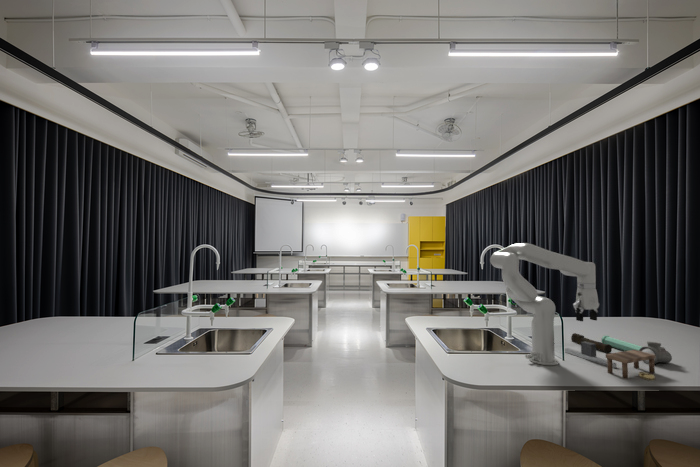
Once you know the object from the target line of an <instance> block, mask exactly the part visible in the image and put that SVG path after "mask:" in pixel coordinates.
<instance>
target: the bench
mask: <svg viewBox="0 0 700 467" xmlns="http://www.w3.org/2000/svg"><path fill="white" fill-rule="evenodd" d="M605 359H606V360H607V366H606V367H607V373H608V374H610V375H611V374H613V373H614V372H613V370H614V368H613V366H612V362H613V361H616V362H619V363H621V371H622V372H621V375H622V378H623V379H626V380H627V379H628V378H629V375H628V374H629V372H628V370H629V368H628V365H629V364H631V363H633V368H634V369H637V368H639V369H640V362H643V361H644V360H649V364H648V370H649V371H648V373H651V374H655V364H654V359H655V355H654V354H650V353H646V352H642V351H638V350H629V351H623V350H622V351H618V352H612V353H605Z"/></svg>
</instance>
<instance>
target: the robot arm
mask: <svg viewBox="0 0 700 467" xmlns="http://www.w3.org/2000/svg"><path fill="white" fill-rule="evenodd" d="M520 260H523V261H527V262H530V263H533V264H535V265H538V266H540V267H542V268H546V269H551V270H559V271H560V273H561V274H563V275H564V276H569V277H576V278H577V279H576V280H577V283H576V284H577V289H576V294H575V296H576V297H575V302H574V303H572V306H573V310H574V311H575V317H576V318H575V320H576V321H579V322H584V313H583V312H584V311H586V310H587V311H588V310H589V319H590V320H591V321H598V313H599V311H598V310H599V308H600V302H599V297H598V292H597V289H596V285H597V283H596V282H597V281H596V280H597V279H596V278H597V276H596V263H594V261H593V262H591V261H584V260H582V259H578V258H576V257H573V256H569V255H565V254H562V253H557V252H554V251H551V250H549V249H546V248H543V247H541V246H538V245H535V244H532V243H528V242H521V243H520V242H519V243H517V242H515V243H514V244H511V245H508V246H507V247H504V248H502V249H500V250H496V251H495V252H493V253H492V255H491V256H490V258H489V262H490V264H491V265H492V267H494V268H496V269H501V277H502V278H501V280H502V281H503V283H504V285H506V294H507V295H508V297H509V298H510V300H512V301H513V302H514V303H515V304H516V305H517V306H519V308H521V309H522V310H523V311H524V312H527V313H529V314H533V318H532V320H531V349H532V350H531V351H530V353H528V354H525V355H524V357H525V359H527V360H528V359H529V361H531V362H532V363H535V364H539V365H543V366H557V365H559V359H557V358H555V356H556V355H555V351H556V350H555V327H554V326H555V325H554V324H555V322H554V321H555V315H556V310H557V309H556V308H557V307H556V305H555V302H554V301H552V299H550V298H547V297H546V296H541V295H539V294H538V291H537V289H536V288H535V286H533V285H532V284H531V283H530V282H529V281H528V280H527V279H526V278H524V276H523V275H522V274H521V273H520V271H519V270H520V268H519V267H520Z"/></svg>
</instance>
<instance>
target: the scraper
mask: <svg viewBox="0 0 700 467" xmlns="http://www.w3.org/2000/svg"><path fill="white" fill-rule="evenodd" d="M564 353H566V354H569V355H571V356H575V357H579V358H581V359H585V360H587V361H590V362H593V363H597V364H600V365H603V366H606V367H607V359H606V358H601V357H599V356H597V349H596V344H594V343H590V342H587V341H584V342H581V345H580V351H579V350H576V349H573V348H570V347H565V348H564ZM612 366H613V369H615V368H617V362H614V361H612Z"/></svg>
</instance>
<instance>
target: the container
mask: <svg viewBox="0 0 700 467" xmlns="http://www.w3.org/2000/svg"><path fill="white" fill-rule="evenodd" d="M601 343H604V344H609V345H611V346H612V348H614V349H617V350H620V351H622V352H623V351H629V350H638V351H639V350H640V348H641V347H642V346H641V345H637V344H634V343H631V342H628V341H624V340H621V339H617V338H614V337H611V336H610V335H603V336H602V337H601Z"/></svg>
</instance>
